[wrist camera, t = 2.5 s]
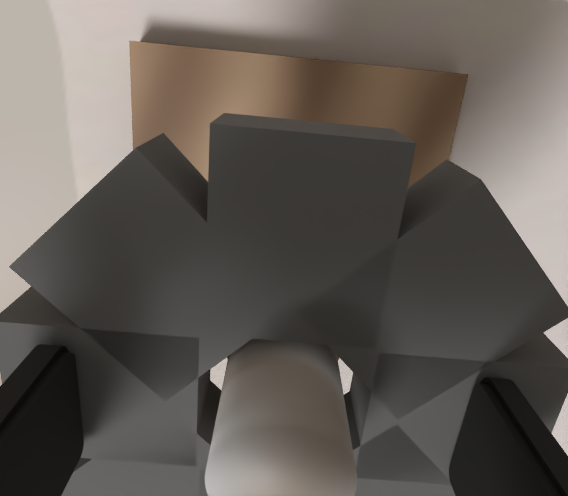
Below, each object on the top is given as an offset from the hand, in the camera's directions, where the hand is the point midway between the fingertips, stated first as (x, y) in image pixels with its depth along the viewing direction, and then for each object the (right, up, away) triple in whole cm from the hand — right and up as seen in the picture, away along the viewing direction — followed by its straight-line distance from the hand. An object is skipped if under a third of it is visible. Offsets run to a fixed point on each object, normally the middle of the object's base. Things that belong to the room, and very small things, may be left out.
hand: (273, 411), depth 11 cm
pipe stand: (0, +6, +15) cm, 16 cm away
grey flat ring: (0, +1, +2) cm, 2 cm away
